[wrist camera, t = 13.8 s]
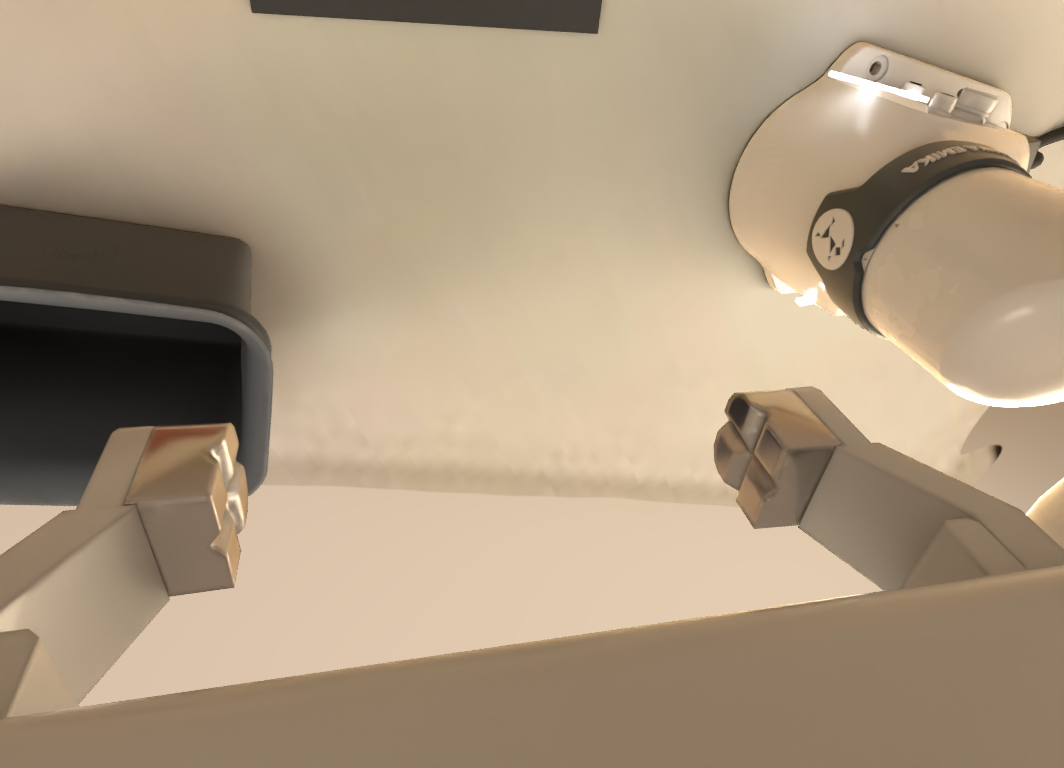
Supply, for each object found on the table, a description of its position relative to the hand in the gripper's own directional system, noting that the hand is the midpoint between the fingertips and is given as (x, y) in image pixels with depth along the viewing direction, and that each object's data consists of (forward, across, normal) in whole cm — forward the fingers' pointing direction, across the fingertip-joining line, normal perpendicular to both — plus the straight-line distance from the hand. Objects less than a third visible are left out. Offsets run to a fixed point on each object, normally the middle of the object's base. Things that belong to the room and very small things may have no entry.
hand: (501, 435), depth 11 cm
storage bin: (+36, -19, -16) cm, 43 cm away
